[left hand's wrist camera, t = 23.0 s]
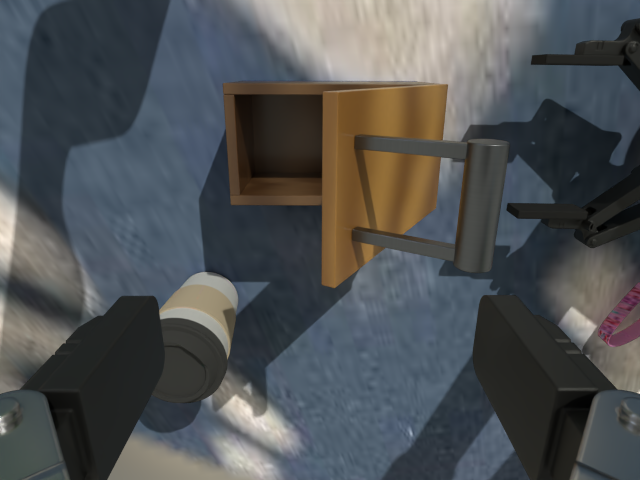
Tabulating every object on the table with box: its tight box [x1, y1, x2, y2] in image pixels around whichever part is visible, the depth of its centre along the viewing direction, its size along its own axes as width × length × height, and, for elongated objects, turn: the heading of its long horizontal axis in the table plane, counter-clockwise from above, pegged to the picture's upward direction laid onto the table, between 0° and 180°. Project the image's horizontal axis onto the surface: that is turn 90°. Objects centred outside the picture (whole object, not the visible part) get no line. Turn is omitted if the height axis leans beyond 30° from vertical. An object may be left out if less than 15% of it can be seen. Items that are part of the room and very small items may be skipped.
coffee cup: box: [152, 272, 238, 403], centre depth 47 cm, size 9×9×15 cm
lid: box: [322, 84, 510, 288], centre depth 28 cm, size 18×10×8 cm
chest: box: [223, 81, 435, 205], centre depth 43 cm, size 18×10×10 cm, turn 90°
